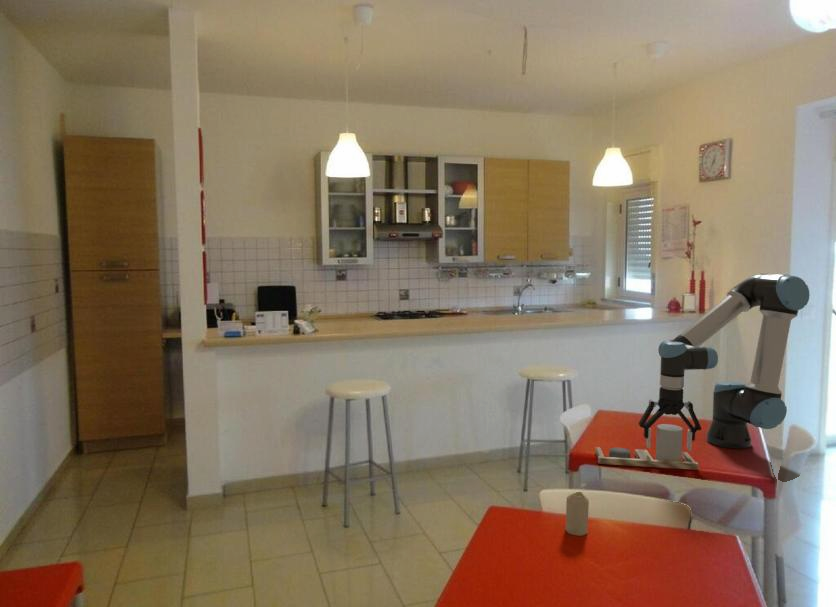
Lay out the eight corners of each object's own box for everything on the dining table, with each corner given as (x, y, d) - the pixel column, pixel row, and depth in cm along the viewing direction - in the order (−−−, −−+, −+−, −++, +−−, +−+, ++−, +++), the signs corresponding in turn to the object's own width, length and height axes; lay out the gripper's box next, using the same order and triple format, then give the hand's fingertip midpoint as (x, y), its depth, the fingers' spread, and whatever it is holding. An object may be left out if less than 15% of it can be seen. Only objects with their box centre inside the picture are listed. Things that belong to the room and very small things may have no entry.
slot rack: (688, 457, 211) (688, 452, 210) (698, 469, 199) (698, 463, 199) (594, 452, 215) (594, 446, 215) (598, 463, 204) (598, 457, 204)
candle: (572, 524, 159) (574, 487, 158) (591, 531, 155) (592, 493, 155) (561, 530, 156) (562, 493, 155) (580, 538, 152) (581, 500, 151)
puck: (628, 456, 212) (628, 448, 212) (631, 463, 205) (632, 455, 205) (607, 455, 213) (608, 446, 213) (610, 462, 206) (610, 453, 206)
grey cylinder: (676, 457, 210) (678, 424, 209) (684, 466, 202) (686, 431, 201) (652, 456, 211) (654, 423, 210) (659, 465, 203) (661, 430, 202)
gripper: (706, 386, 206) (703, 446, 208) (631, 383, 210) (629, 442, 212) (713, 391, 199) (710, 454, 201) (635, 388, 203) (633, 449, 205)
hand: (668, 448), depth 206 cm, fingers open, 13 cm apart
